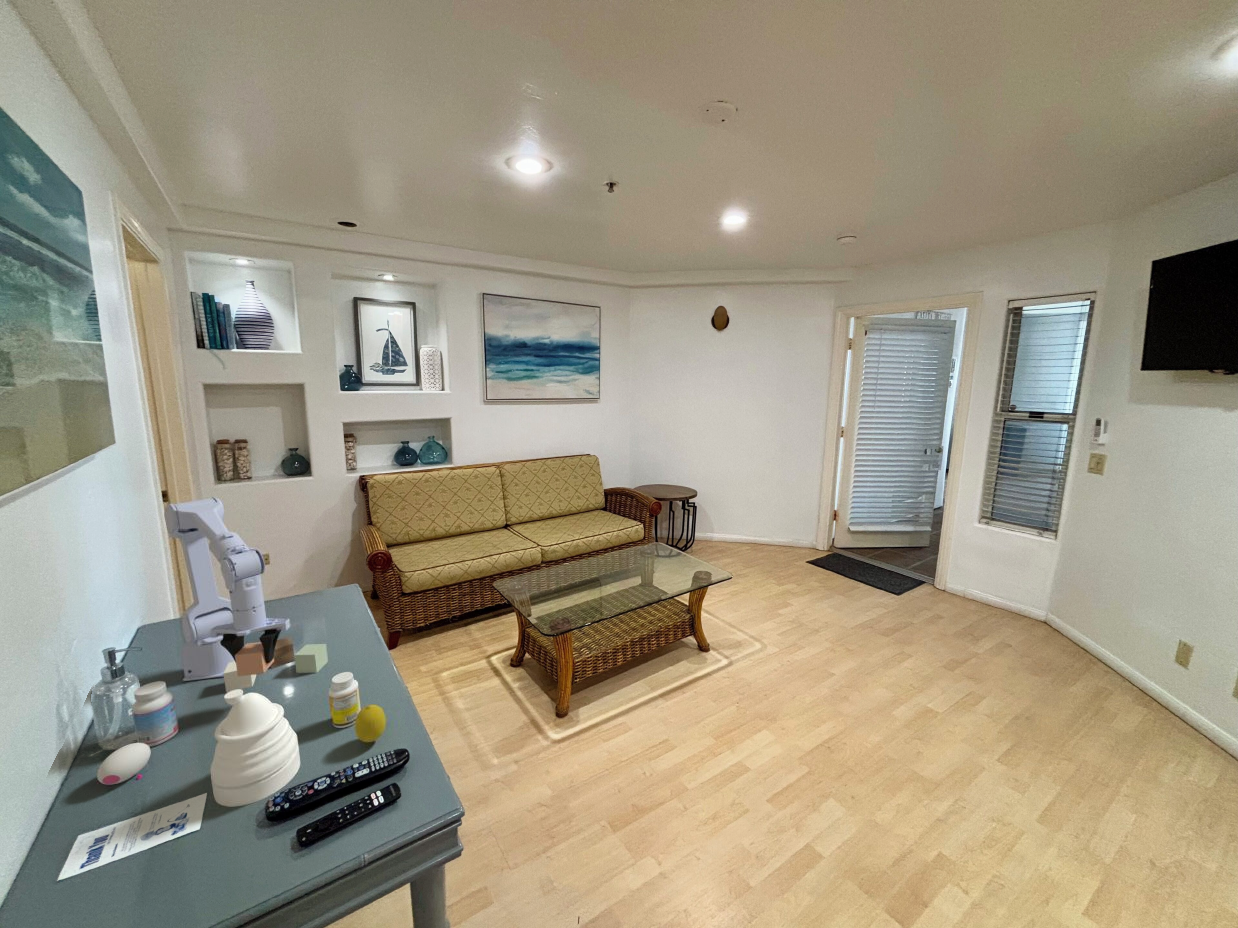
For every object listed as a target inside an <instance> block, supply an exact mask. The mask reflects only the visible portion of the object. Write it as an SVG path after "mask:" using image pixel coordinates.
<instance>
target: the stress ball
mask: <svg viewBox="0 0 1238 928" xmlns="http://www.w3.org/2000/svg"><path fill="white" fill-rule="evenodd" d="M151 752H152V751H151V747H149V746H148V745H146V744H144V743H138V742H133V743H130V744H126V745H124V746H121V747H119V748H118V749H116V750H115V751H114V752H112V753H110V754H109V755H108V756H107V757H106V758H105V759H104V760H103V762H102V763H101V764H100V765H99V766H98V768H96V769H98V770H97V773H96V778H97V780H98V781H99V782H100V783H101V784H103V785H108V786H110V785H115V784H120V783H123V782H125V781H127V780H130V779H131V778H132V777H134V776H135V775H136V776H137V779H136V780H137V781H138V780H139V779H141V778H142V777H143V775H140V774H138V773H139V772H140V771H141V770H142V769H143V768H144V767H145V766H146V765H147V763H148V762H149V760H150V757H151Z"/></svg>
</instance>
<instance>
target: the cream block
mask: <svg viewBox="0 0 1238 928" xmlns="http://www.w3.org/2000/svg"><path fill="white" fill-rule="evenodd" d="M223 678H224V686H225V693H226V694H227V693H228V692H230V691H233V690H237V689H241V690H243V689H249V688H252V687H253V686H254V684H255V681H256V678H257V674H254V675H246V676H238V674H237V667H236V662H230V663H228V665H227V667H226V669H225V671H224V677H223Z"/></svg>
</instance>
